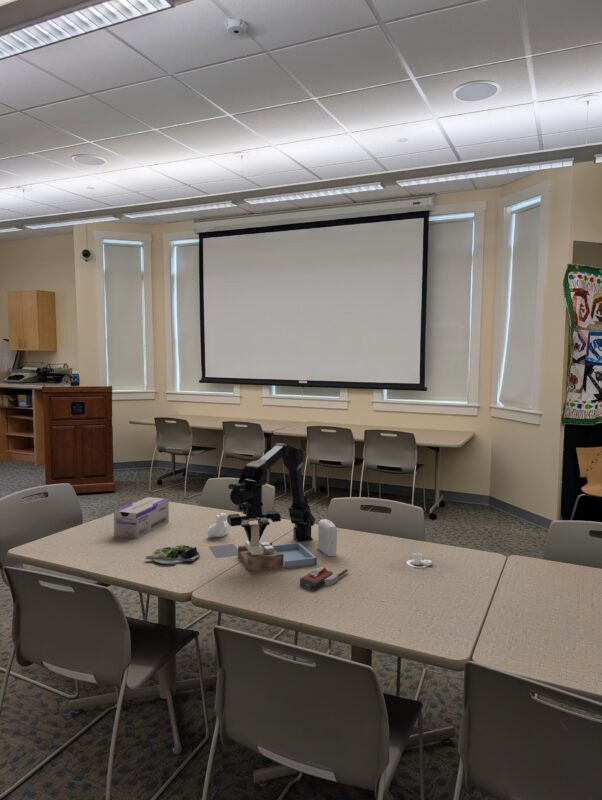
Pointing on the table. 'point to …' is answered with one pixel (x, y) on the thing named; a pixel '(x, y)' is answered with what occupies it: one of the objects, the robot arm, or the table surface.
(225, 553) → the mat
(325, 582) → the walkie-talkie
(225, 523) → the bust
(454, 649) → the table surface
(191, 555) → the salad plate
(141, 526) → the surgical sutures box
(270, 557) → the groove block
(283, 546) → the chip tray
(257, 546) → the plate with square knob
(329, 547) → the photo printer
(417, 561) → the teacup and saucer
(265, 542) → the chip
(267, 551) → the grey square block
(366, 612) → the table surface
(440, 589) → the table surface
